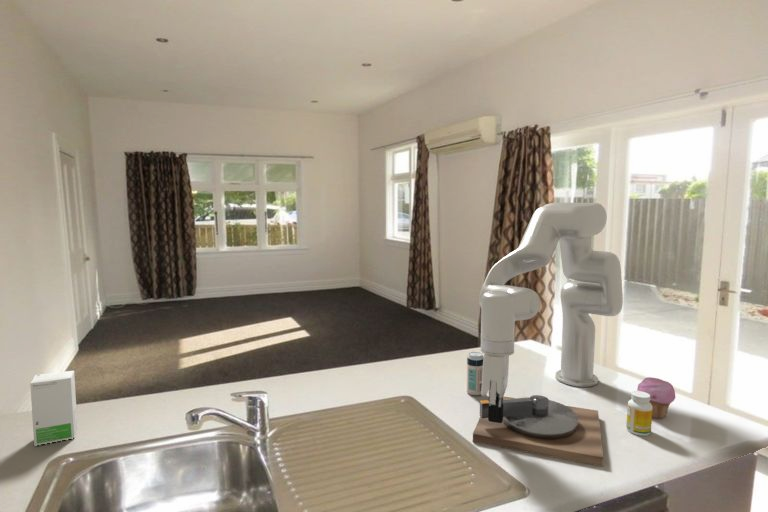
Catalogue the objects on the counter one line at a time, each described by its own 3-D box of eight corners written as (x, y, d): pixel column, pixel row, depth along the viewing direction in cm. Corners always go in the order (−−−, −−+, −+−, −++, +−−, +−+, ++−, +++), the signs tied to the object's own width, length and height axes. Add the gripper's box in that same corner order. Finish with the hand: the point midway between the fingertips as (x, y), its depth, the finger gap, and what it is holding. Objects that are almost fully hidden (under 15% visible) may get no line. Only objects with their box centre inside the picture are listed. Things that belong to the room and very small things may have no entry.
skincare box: (33, 447, 108) (27, 383, 106) (39, 435, 114) (33, 374, 112) (76, 438, 112) (70, 377, 110) (79, 427, 118) (74, 368, 116)
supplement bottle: (621, 428, 115) (623, 391, 114) (635, 424, 117) (637, 388, 116) (641, 438, 110) (643, 400, 109) (655, 433, 113) (658, 396, 111)
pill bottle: (482, 390, 139) (482, 351, 138) (484, 396, 134) (484, 357, 133) (466, 389, 140) (466, 351, 138) (467, 396, 135) (467, 356, 133)
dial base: (489, 401, 131) (489, 393, 131) (597, 417, 121) (598, 409, 121) (472, 441, 109) (472, 433, 109) (602, 466, 99) (603, 456, 99)
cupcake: (635, 405, 128) (637, 370, 127) (672, 412, 124) (675, 376, 123) (635, 418, 120) (638, 382, 119) (675, 426, 116) (677, 388, 115)
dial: (554, 402, 125) (555, 382, 124) (593, 435, 107) (594, 411, 106) (469, 408, 122) (469, 387, 121) (494, 443, 104) (494, 419, 103)
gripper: (486, 334, 114) (485, 405, 116) (474, 353, 101) (473, 432, 103) (517, 337, 111) (515, 410, 114) (509, 357, 98) (507, 438, 100)
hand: (495, 420), depth 108 cm, fingers closed
